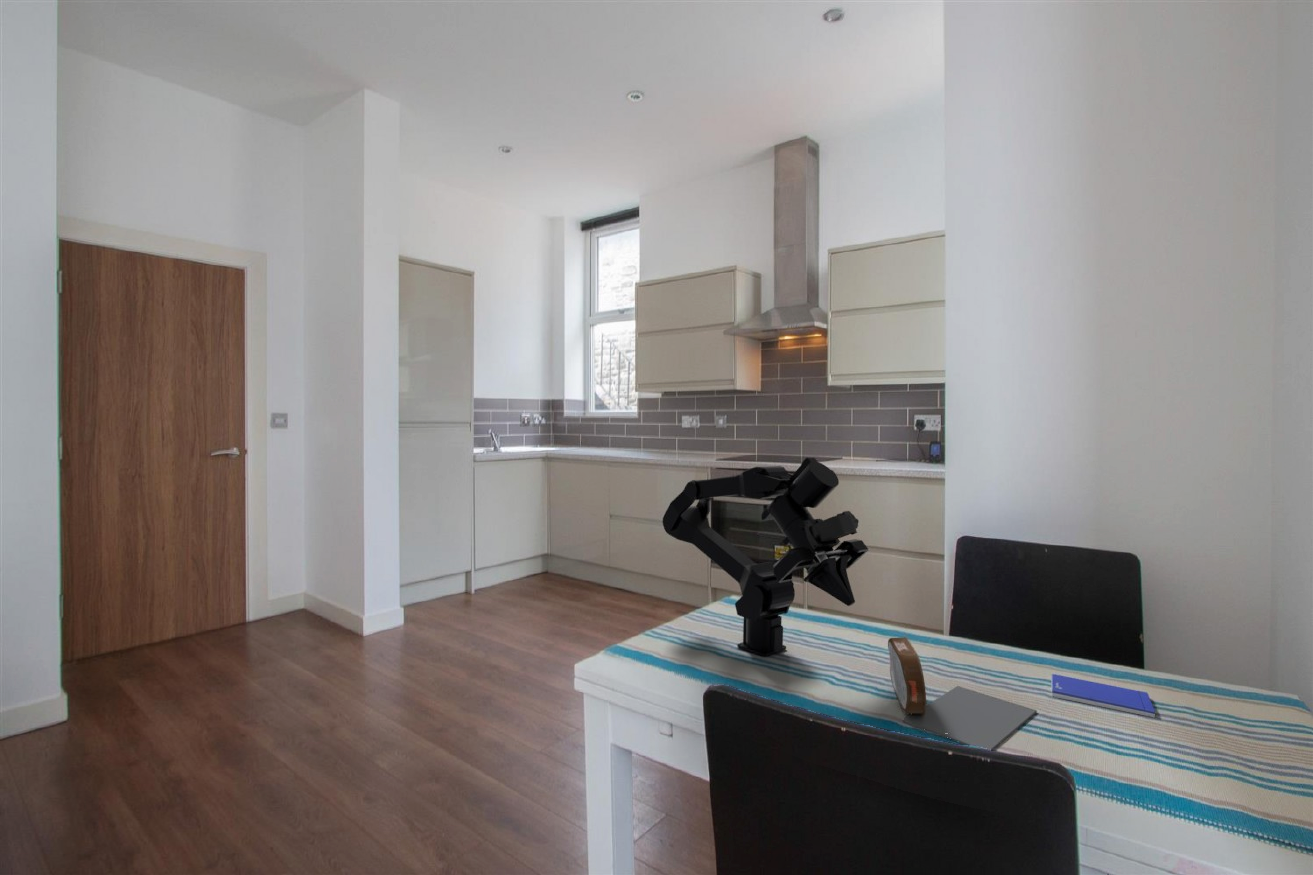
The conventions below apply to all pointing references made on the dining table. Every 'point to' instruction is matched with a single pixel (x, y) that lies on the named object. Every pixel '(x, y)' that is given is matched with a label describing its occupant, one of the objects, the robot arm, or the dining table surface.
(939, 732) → the mat
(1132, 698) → the hard drive
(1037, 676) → the dining table surface
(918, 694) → the tin
